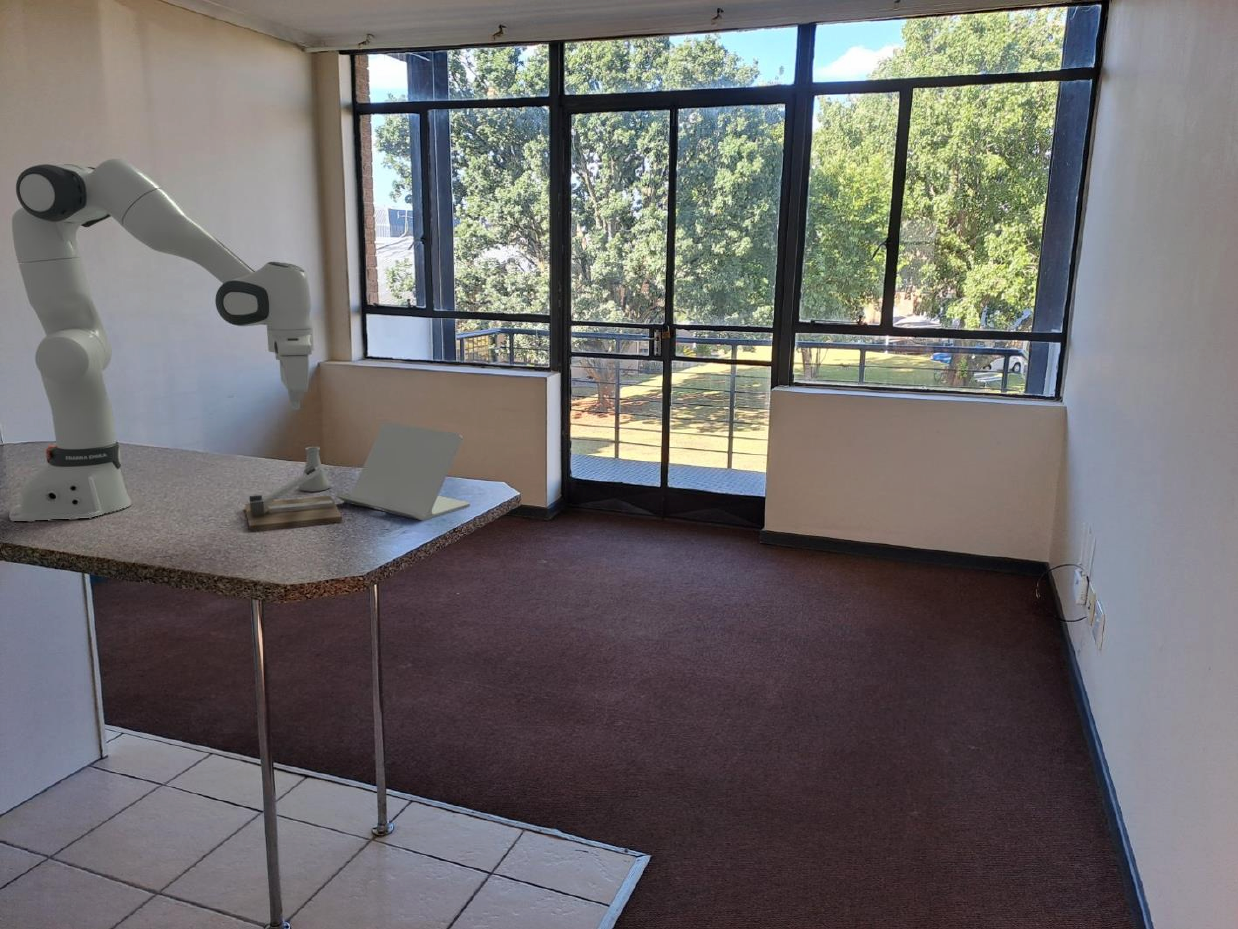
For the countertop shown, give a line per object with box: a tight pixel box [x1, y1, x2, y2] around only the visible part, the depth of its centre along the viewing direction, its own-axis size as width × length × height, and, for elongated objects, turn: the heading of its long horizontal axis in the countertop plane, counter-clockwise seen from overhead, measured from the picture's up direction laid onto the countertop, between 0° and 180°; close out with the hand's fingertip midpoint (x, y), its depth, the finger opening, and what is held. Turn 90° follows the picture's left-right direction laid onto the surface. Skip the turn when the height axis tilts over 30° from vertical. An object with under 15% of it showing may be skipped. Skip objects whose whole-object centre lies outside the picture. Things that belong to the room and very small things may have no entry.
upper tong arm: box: [252, 466, 322, 506], centre depth 187 cm, size 16×4×2 cm, turn 114°
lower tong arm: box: [249, 494, 333, 517], centre depth 188 cm, size 16×6×3 cm, turn 115°
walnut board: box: [244, 495, 343, 532], centre depth 189 cm, size 18×18×1 cm
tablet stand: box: [335, 421, 471, 522], centre depth 196 cm, size 18×25×17 cm
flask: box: [298, 446, 332, 493], centre depth 210 cm, size 7×7×10 cm
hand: (295, 408), depth 184 cm, fingers closed
